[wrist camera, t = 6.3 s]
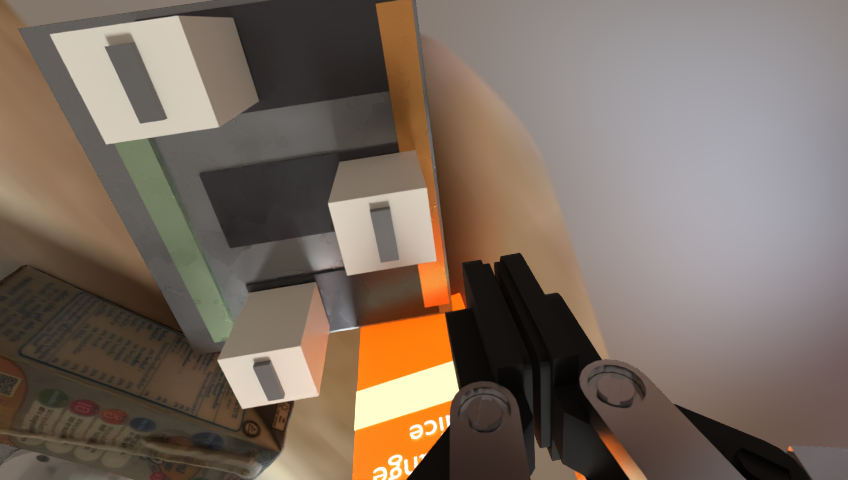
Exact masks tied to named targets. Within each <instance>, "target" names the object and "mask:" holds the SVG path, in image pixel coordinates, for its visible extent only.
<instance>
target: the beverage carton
mask: <svg viewBox="0 0 848 480" xmlns="http://www.w3.org/2000/svg"><path fill="white" fill-rule="evenodd" d="M220 353H221V351H219V352H213V353H207V354H201V355H195V353H194V351H193V349H192V347H191V346H190V344H189V342H188V340H187V338H186V336H185V335H183V334H182V333H180V332H178V331H175V330H173V329H170V328H168V327H165V326H163V325H161V324H158V323H156V322H154V321H151V320H149V319H147V318H144V317H142V316H140V315H137V314H135V313H133V312H130V311H128V310H126V309H124V308H122V307H120V306H117V305H115V304H113V303H110V302H108V301H106V300H103V299H101V298H99V297H96V296H94V295H92V294H89V293H87V292H84V291H82V290H80V289H78V288H75V287H73V286H71V285H69V284H67V283H65V282H63V281H60V280H58V279H56V278H54V277H52V276H49V275H47V274H45V273H42V272H40V271H38V270H36V269H34V268H32V267H30V266H28V265H25V266H21V267H20V268H19V269H18V270H16V271H14V272H13V273H11V274H10V275H8V276H7V277H5V278H4V279H3V280H1V281H0V443H3V444H7V445H10V446H14V447H17V448H21V449H24V450H28V451H32V452H36V453H40V454H44V455H47V456H51V457H54V458H58V459H63V460H66V461H69V462H73V463H77V464H81V465H85V466H88V467H92V468H95V469H98V470H101V471H106V472H110V473H113V474H116V475H120V476H123V477H126V478H129V479H132V480H255V479H256V478H257V477H258V476H259V475H260V474H261V473H262V472H263V471H264V470H265V469H266V468H267V467H269V466H270V465H271V464H272V463H273V462H274V461H275V460H276V459H277V458H278V457H279V456H280V455H281V453H282V452H283V450H284V444H285V439H286V432H287V427H288V423H289V420H290V417H291V414H292V411H293V407H294V400H292V401H286V402H280V403H274V404H268V405H263V406H257V407H251V408H245V409H242V407H241V405H240V404H239V402H238V400H237V398H236V396H235V394H234V392H233V390H232V388H231V386H230V384H229V382H228V380H227V378H226V376H225V374H224V372H223V371H222V369H221V367H220V365H219V363H218V361H217V359H218V357H219V355H220Z"/></svg>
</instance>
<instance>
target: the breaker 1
mask: <svg viewBox="0 0 848 480" xmlns="http://www.w3.org/2000/svg"><path fill="white" fill-rule="evenodd" d="M50 36H51V38H52V40H53V42H54V44H55V46H56V48H57V50H58V52H59V54H60V56H61V58H62V60H63V62H64V64H65V65H66V67H67V69H68V71H69V73H70V75H71V77H72V79H73V81H74V83H75V85H76V87H77V89H78V91H79V93H80V95H81V97H82V98H83V100H84V102H85V104H86V106H87V108H88V110H89V112H90V114H91V116H92V118H93V120H94V122H95V124H96V126H97V128H98V130H99V132H100V133H101V135H102V137H103V139H104V141H105V143H106V144H112V143H119V142H125V141H132V140H138V139H145V138H152V137H158V136H165V135H171V134H178V133H184V132H191V131H197V130H204V129H210V128H217V127H220V126H222V125H223V124H225V123H226V122H228V121H229V120H231V119H233V118H234V117H236V116H237V115H239V114H240V113H242V112H243V111H245V110H246V109H248V108H249V107H251V106H252V105H254V104H256V103H257V102H259V99H258V96H257V93H256V89H255V86H254V83H253V80H252V77H251V73H250V70H249V67H248V64H247V61H246V57H245V54H244V51H243V48H242V45H241V41H240V38H239V35H238V32H237V29H236V26H235V22H234V19H233V18H226V17H200V16H172V17H165V18H158V19H151V20H145V21H138V22H131V23H124V24H117V25H110V26H103V27H96V28H89V29H83V30H76V31H69V32H62V33H55V34H50Z"/></svg>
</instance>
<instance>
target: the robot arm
mask: <svg viewBox="0 0 848 480" xmlns="http://www.w3.org/2000/svg"><path fill="white" fill-rule="evenodd" d="M462 270H463V278H464V286H465V295H466V303H467V309H461V310H455V311H450V312H445V318H446V324H447V331H448V337H449V343H450V348H451V353H452V359H453V364H454V369H455V374H456V379H457V383H458V388H459V391H458V392H457V393H456V394H455V396H454V398H453V400H452V402H451V407H450V425H449V426H448V428H447V429H446V430H445V431H444V433H443V434H442V435H441V436H440V438H439V439H438V440H437V441H436V443H435V444H434V445H433V446H432V448H431V449H430V450H429V451H428V453H427V454H426V455H425V456H424V458H423V459H422V460H421V461H420V463H419V464H418V465H417V466H416V468H415V469H414V470H413V471H412V473H411V474H410V475H409V476H408V478H407V479H406V480H531V479H530V476H531V474H532V473H533V471H534V469H535V451H534V435H535V437H536V440H537V443H538V445H539V447H540V448H544V447H547V449H548V451H549V454H550V456H551V459H552V461H554V460H560V459H561V461H562V463H563V464H564V465H566V466H568V467H570V468H571V469H573V470H575V474H576V477H577V479H578V480H848V448H833V447H811V446H790V447H789V449H788V451H782V450H781V449H779V448H778V447H776V446H773V445H771V444H770V443H768V442H766V441H764V440H761V439H759V438H756V437H754V436H751V435H749V434H746V433H744V432H742V431H739V430H737V429H734V428H732V427H729V426H727V425H725V424H722V423H720V422H717V421H715V420H712V419H710V418H707V417H705V416H702V415H700V414H698V413H695V412H693V411H690V410H687V409H685V408H683V407H681V406H678V405H676V404H673V403H672V402H671V401H670V400H669V399H668V398H667V397H666V396H665V395H664V394H663V393H662V391H661V390H660V389H659V388H658V387H656V385H655V384H654V383H653V382H652V381H651V380H650V379H649V378H648V377H647V376H646V375H645V374H644V373H642V372H641V371H640V370H639V369H638V368H636V367H634V366H632V365H630V364H628V363H625V362H621V361H618V360H607V359H605V360H602V359H601V358H600V356H599V354H598V353H597V351H596V350H595V348H594V347H593V345H592V344H591V342H590V340H589V339H588V337H587V336H586V334H585V333H584V331H583V329H582V328H581V326H580V325H579V323H578V322H577V320H576V318H575V317H574V315H573V314H572V312H571V311H570V309H569V308H568V306H567V304H566V303H565V301H564V300H563V298H562V297H561V296H560V294H558V293H552V294H546V295H545V294H544V292H543V291H542V289H541V287H540V285H539V284H538V282H537V280H536V279H535V277H534V275H533V273H532V272H531V270H530V268H529V267H528V265H527V263H526V261H525V260H524V258H523V256H522V255H521V253H516V254H511V255H505V256H501V257H500V262H495V263H494V271H495V275H494V273H493V271H492V268H491V266H490V264H489V263H488V264H483V263H482V261H481V260H477V261H471V262H465V263H462ZM0 480H132V479H129V478H126V477H123V476H120V475H116V474H113V473H110V472H106V471H101V470H98V469H95V468H92V467H88V466H85V465H81V464H77V463H73V462H69V461H66V460H63V459H58V458H54V457H51V456H47V455H44V454H40V453H36V452H32V451H28V450H24V449H20V450H18V451H16V452H14V453H13V454H12V455H11V456H9V457H8V458H7V459H6V460H5V461H4V463H3V464H2V465H1V466H0Z"/></svg>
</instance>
